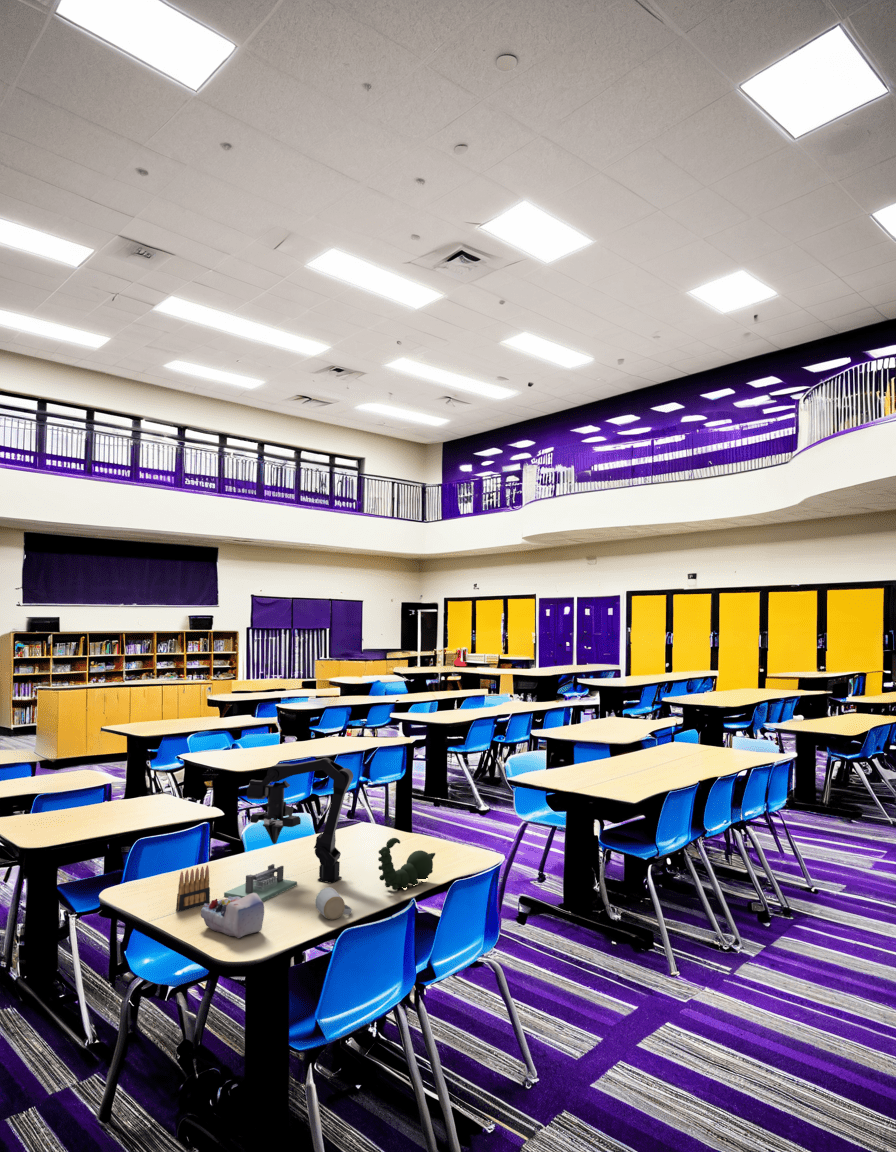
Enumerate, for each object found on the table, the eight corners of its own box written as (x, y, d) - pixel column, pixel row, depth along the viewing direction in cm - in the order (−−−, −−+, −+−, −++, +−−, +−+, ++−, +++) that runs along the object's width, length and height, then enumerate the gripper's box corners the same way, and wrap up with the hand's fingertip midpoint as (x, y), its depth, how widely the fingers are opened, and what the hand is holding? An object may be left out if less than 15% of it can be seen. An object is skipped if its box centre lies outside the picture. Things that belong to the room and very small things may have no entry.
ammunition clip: (206, 902, 233) (208, 864, 234) (209, 903, 232) (211, 865, 233) (175, 910, 225) (177, 871, 226) (178, 912, 224) (180, 872, 225)
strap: (273, 870, 253) (273, 867, 253) (279, 871, 252) (279, 868, 252) (249, 878, 242) (250, 876, 242) (256, 880, 240) (256, 877, 240)
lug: (255, 891, 240) (255, 874, 240) (250, 893, 238) (251, 876, 238) (249, 890, 241) (250, 873, 241) (245, 892, 239) (245, 875, 239)
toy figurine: (392, 902, 239) (445, 879, 256) (389, 845, 240) (442, 826, 257) (374, 895, 245) (427, 873, 263) (371, 839, 246) (424, 821, 264)
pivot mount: (283, 880, 252) (283, 865, 252) (278, 882, 249) (278, 867, 250) (272, 878, 254) (272, 864, 254) (267, 880, 251) (267, 866, 252)
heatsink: (277, 884, 247) (277, 875, 247) (262, 891, 240) (262, 882, 240) (260, 882, 250) (261, 873, 250) (245, 888, 242) (245, 879, 243)
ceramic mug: (323, 923, 216) (324, 896, 216) (314, 914, 223) (315, 888, 224) (355, 917, 221) (356, 891, 222) (345, 909, 228) (346, 884, 229)
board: (296, 885, 250) (297, 881, 251) (259, 902, 232) (260, 899, 232) (262, 879, 257) (262, 875, 257) (224, 896, 239) (224, 892, 239)
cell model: (237, 904, 201) (196, 891, 213) (236, 944, 199) (195, 929, 211) (274, 891, 211) (233, 880, 223) (273, 930, 210) (232, 916, 222)
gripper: (309, 797, 265) (308, 841, 264) (268, 793, 273) (267, 835, 271) (292, 803, 255) (290, 848, 253) (249, 799, 262) (248, 842, 261)
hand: (274, 843), depth 260 cm, fingers closed
